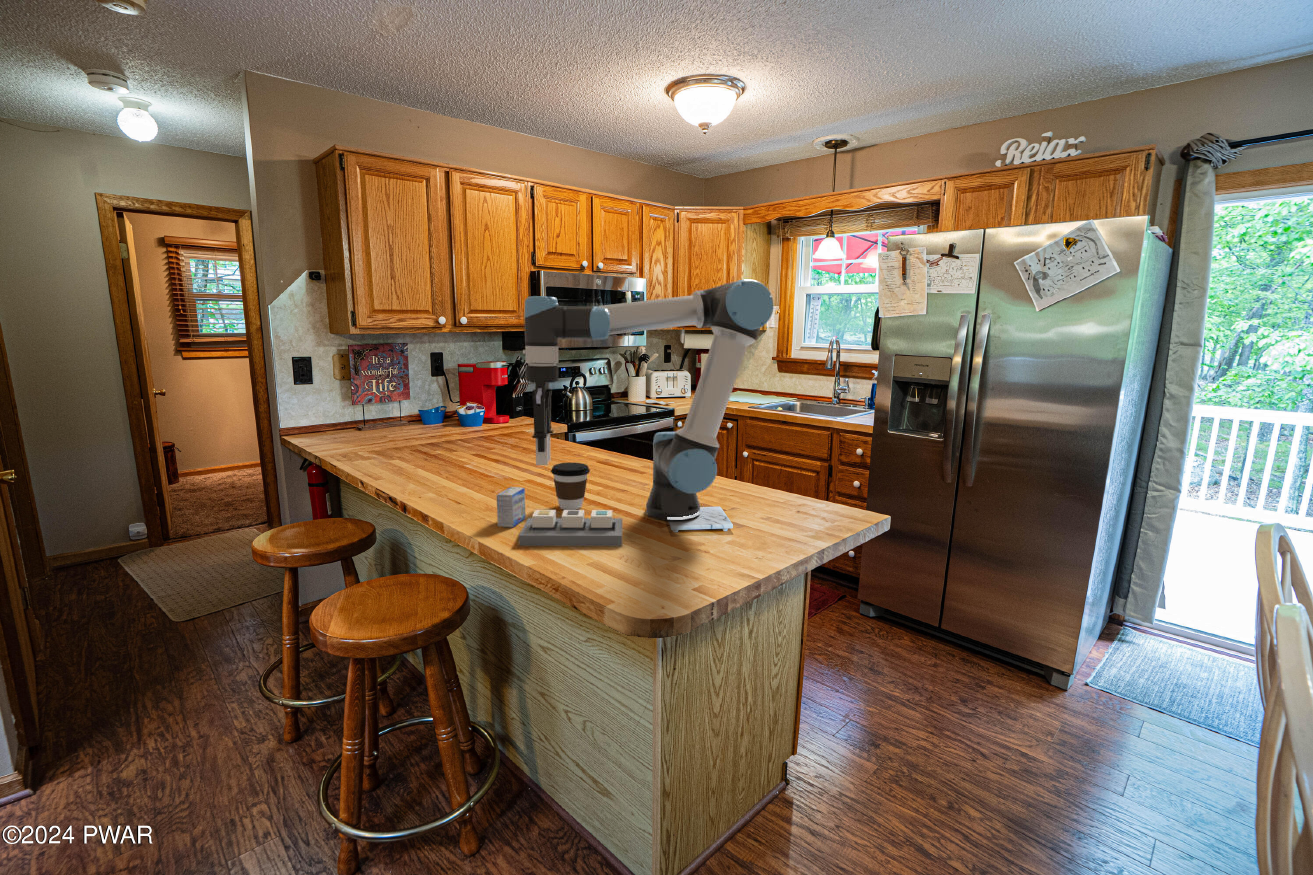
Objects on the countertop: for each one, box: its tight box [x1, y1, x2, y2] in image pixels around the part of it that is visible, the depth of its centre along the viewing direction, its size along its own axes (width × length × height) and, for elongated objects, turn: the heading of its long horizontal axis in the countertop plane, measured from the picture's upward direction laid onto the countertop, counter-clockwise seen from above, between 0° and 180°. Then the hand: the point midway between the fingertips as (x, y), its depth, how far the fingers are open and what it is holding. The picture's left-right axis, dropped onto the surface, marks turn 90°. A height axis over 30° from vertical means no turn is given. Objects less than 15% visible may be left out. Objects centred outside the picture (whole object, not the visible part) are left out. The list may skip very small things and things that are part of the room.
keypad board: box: [518, 517, 623, 547], centre depth 145 cm, size 24×13×3 cm, turn 93°
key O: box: [590, 509, 613, 528], centre depth 145 cm, size 5×5×3 cm
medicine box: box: [496, 486, 526, 529], centre depth 154 cm, size 8×4×9 cm, turn 168°
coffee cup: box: [550, 462, 591, 511], centre depth 169 cm, size 11×11×12 cm
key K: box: [561, 509, 585, 528], centre depth 145 cm, size 5×5×3 cm
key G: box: [531, 509, 557, 527], centre depth 145 cm, size 5×5×3 cm
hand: (543, 462), depth 142 cm, fingers open, 4 cm apart
